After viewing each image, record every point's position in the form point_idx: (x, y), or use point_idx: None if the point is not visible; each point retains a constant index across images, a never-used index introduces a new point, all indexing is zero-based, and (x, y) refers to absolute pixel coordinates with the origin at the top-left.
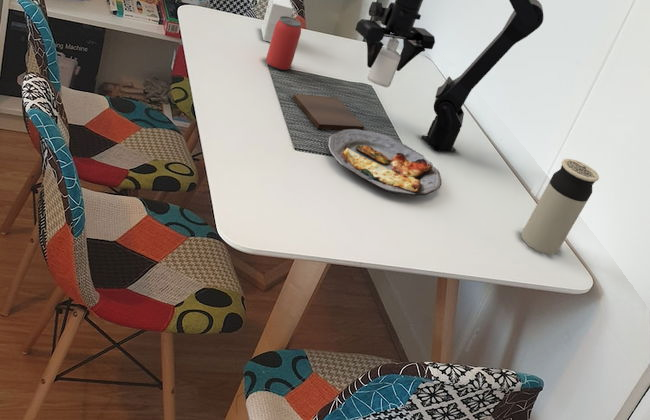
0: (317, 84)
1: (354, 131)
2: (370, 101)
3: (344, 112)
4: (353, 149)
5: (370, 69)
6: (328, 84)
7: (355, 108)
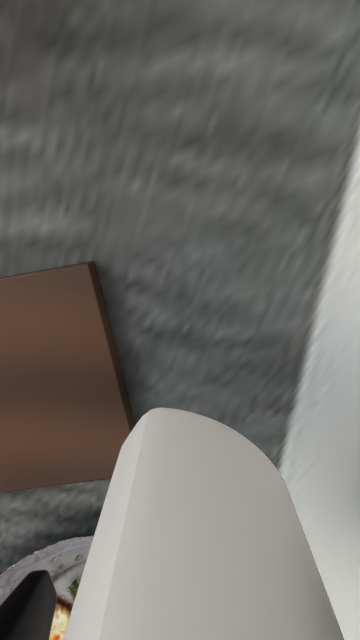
0: (36, 88)
1: (74, 545)
2: (289, 194)
3: (86, 394)
4: (68, 577)
5: (105, 501)
6: (101, 59)
7: (175, 295)
